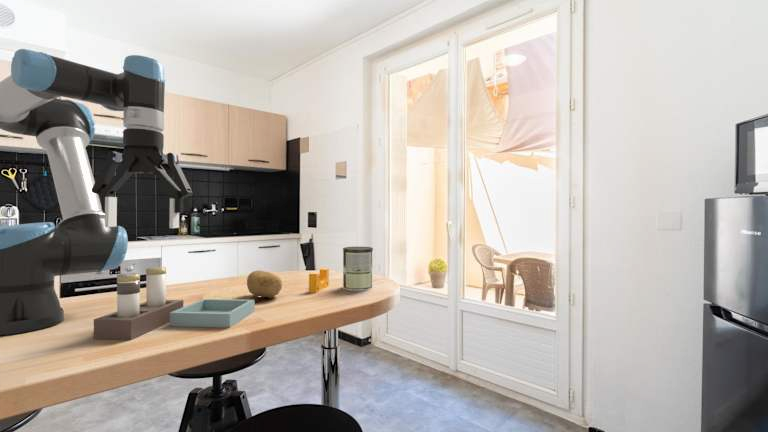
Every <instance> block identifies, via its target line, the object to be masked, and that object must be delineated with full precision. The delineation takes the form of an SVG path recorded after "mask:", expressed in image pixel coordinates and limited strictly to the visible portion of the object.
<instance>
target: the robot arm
mask: <svg viewBox="0 0 768 432" xmlns="http://www.w3.org/2000/svg"><path fill="white" fill-rule="evenodd" d="M122 69H123V72H121V73H115V72H110V71H108V70H107V71H106V70H103V69H100V68H96V67H93V66H89V65H85V64H81V63H79V62H74V61H71V60H68V59H65V58H61V57H58V56H53V55H52V54H51V55H50V54H48V53H46V52H45V53H44V52H43V51H35V50H30V49H25V48H20V49H17V50H16V51H15V52H14V56H13V57H12V59H11V65H10V73H11V74H10V75H9V76H6V77H5V78H4V79H2V80H1V81H0V130H2V131H5V132H8V133H11V134H17V135H23V136H29V137H35V139H36V143H37V144H38V146H39V147H40V148H42V149H43V150H45V151H46V154H47V158H48V162H49V168H50V172H51V175H52V178H53V184H54V188H55V193H56V196H57V200H58V203H59V208H60V213H61V217H62V220H60V221H59V223H58V224H57V226H56V225H55V223H54V222H52V221H46V222H44V221H43V222H31V223H29V222H28V223H20V224H12V225H4V226H0V336H5V335H8V336H9V335H14V334H21V333H27V332H33V331H38V330H42V329H46V328H49V327H53V326H56V325H58V324H61V323H62V322H64V320H65V311H64V309H63V307H61V303H60V300H59V297H58V294H57V293H56V289H55V277H58V276H60V277H61V276H67V275H78V274H79V275H80V274H88V273H101V272H103V271H104V272H105V271H109V270H110V271H111V270H116V269H118V268H119V267H120V266H121V265H122V264H123V262H124V260H125V258H126V256H127V251H128V245H129V244H128V243H129V239H128V234H127V231H126V228H124V227H123V226H120V225H117V224H118V223H117V222H118V221H117V219H118V218H117V217H118V216H117V215H118V208H117V207H118V197H117V196H115V193H116V192H118V190H119V189H120V188H121V187H122V186H123V185H124V184H125V183H126V181H127V180H128V179H130V177H132V176H133V175H135V174H145V173H146V174H153V175H155V176H156V177H157V179H158V180H159V181H160V182H161V184H162V185H164V187H165V188H166V189H167V190H168V192H169V193H170V194H171V195H172V197H170V198H169V222H168V223H169V229H178V228H180V214H183V212H184V199H185V198H186V197H190V196H193V191H192V188H191V186H190V183H189V182H188V180H187V178H186V176H185V174H184V172H183V169H182V167H181V166H180V161H179V155H178V154H177V153H172V152H168V153H165V154H164V146H165V145H164V140H165V139H164V137H165V136H164V134H163V133H162V132H164V130H165V118H164V117H165V116H164V115H165V110H164V109H165V83H166V79H165V67H164V65H163V64H162V63H161V62H160V61H159V60H157V59H154V58H151V57H149V56H146V55H140V54H139V55H137V54H133V55H132V54H129V55H127V56H126V57H125V58H124V61H123V66H122ZM60 97H63V98H67V99H62V98H60ZM71 99H73V100H77V101H82V102H86V103H87V102H88V103H92V104H96V105H100V106H102V107H103V108H105V109H107V110H108V111H114V112H122V113H123V117H122V118H123V123H122V124H123V127H124V128H125V129H124V130H123V131H122V146H123V151H122V153H121V152H118V151H112V150H109V151H107V156H106V157H107V158H106V161H105V164H104V165H103V167H102V169H101V171H100V173H99V175H98V177H97V179H96V180H95V178H94V174H93V171H92V167H91V164H90V159H89V156H88V152H87V149H86V147H88V145H89V144H90V142H91V141H92V140H93V139H94V136H95V132H96V128H95V125H96V123H95V118H94V115H93V113H92V111H91V110H90V108H88V107H87V106H86V105H85V104H83V103H80V102H76V101H73V100H71ZM122 162H124V164H123V165H122V166H121V167H120V168H119V165H120V163H122ZM164 162H165V163H166V164H167V165H168V168H169V170H170V172H171V174H172V175H173V178H174V179H175V182H176V183H175V182H174V180H173V178H171V177H170V176H169V175H168V173H167V171H166V169H165V168H164V167H163V166H162V164H163V163H164ZM118 168H119V171H118V172H117V170H118ZM116 172H117V173H116ZM100 196H101V197H100ZM100 198H101V199H100Z"/></svg>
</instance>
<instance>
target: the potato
mask: <svg viewBox="0 0 768 432" xmlns="http://www.w3.org/2000/svg"><path fill="white" fill-rule="evenodd" d="M246 286H247V289H248V292H249V293H251V294H252V295H253V296H255V297H256V296H261V297H268V298H267V299H272V298H274V297H275V296H277V295H278V294H279V293H280V291H281V290H282V286H283V281H282V279H281V278H280V276H277V274H274V273H272V272H269V271H264V270H254V271H252V272H250V273H249V274H248V276H247V279H246Z"/></svg>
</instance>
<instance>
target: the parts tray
mask: <svg viewBox="0 0 768 432" xmlns="http://www.w3.org/2000/svg"><path fill="white" fill-rule="evenodd" d="M255 303H256V302H255V299H235V298H234V299H233V298H232V299H231V298H230V299H229V298H228V299H226V298H223V299H222V298H220V299H219V298H202V299H200V300H197V301H195V302H192V303H190V304H188V305H185V306H183V307H182V308H180V309H178V310H175V311H173V312H170V322H169V327H187V328H190V327H191V328H192V327H193V328H221V329H222V328H223V329H224V328H225V329H229V328H231V327H233V326H235V325H236V324H238V323H239V322H241V321H243V320H244V319H246V318H247V317H248V316H250V315H252V314H253V313H255V312H256V311H255V310H256V309H255V308H256V307H255V305H256V304H255Z"/></svg>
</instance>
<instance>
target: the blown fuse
mask: <svg viewBox="0 0 768 432" xmlns="http://www.w3.org/2000/svg"><path fill="white" fill-rule="evenodd" d="M116 281H117V282H116V297H117V299H116V301H117V302H116V304H117V307H116V312H117V317H123V318H132V317H135V316H137V315H140V304H141V302H140V301H141V300H140V299H141V298H140V292H141V274H140V272H139V273H137V272H130V273H129V272H128V273H119V274H117V275H116Z"/></svg>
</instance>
